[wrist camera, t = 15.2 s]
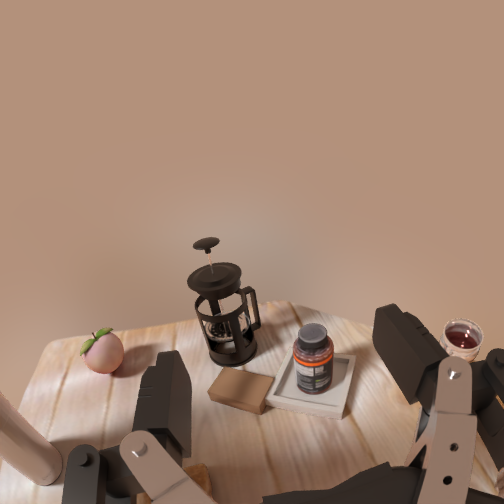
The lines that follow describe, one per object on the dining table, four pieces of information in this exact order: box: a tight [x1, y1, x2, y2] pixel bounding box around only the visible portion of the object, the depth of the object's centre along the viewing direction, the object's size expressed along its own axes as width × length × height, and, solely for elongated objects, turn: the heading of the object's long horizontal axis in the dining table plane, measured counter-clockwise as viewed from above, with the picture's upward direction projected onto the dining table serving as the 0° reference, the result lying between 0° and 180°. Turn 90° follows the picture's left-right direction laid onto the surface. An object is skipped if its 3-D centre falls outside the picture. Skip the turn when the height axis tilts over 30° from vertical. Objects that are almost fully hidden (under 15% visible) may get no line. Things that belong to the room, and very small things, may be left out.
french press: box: [187, 237, 261, 367], centre depth 49 cm, size 12×9×23 cm
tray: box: [265, 347, 356, 420], centre depth 43 cm, size 12×12×2 cm
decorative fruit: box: [80, 328, 124, 374], centre depth 49 cm, size 9×8×10 cm
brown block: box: [207, 366, 274, 415], centre depth 43 cm, size 9×6×2 cm, turn 66°
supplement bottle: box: [293, 323, 334, 395], centre depth 40 cm, size 6×6×11 cm
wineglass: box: [439, 318, 484, 363], centre depth 33 cm, size 7×7×12 cm
